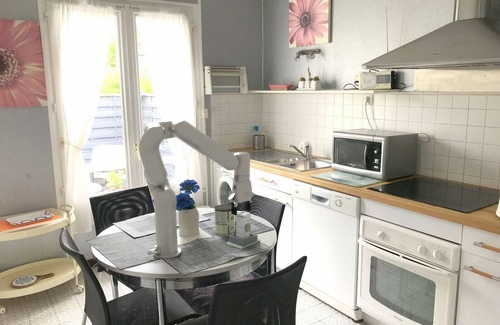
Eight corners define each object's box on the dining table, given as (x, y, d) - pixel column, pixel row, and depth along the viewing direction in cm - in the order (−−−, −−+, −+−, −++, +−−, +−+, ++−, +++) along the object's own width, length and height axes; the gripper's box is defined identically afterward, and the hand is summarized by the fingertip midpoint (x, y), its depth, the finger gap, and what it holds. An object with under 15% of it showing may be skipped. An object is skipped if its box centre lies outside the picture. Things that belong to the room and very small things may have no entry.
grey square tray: (243, 246, 196) (243, 240, 196) (228, 241, 203) (228, 235, 203) (257, 240, 204) (257, 235, 203) (242, 236, 210) (242, 230, 210)
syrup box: (240, 238, 207) (240, 210, 205) (251, 240, 204) (250, 212, 202) (234, 242, 202) (234, 213, 200) (245, 244, 199) (244, 215, 197)
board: (240, 249, 195) (240, 247, 195) (225, 244, 202) (225, 242, 202) (260, 240, 205) (260, 239, 205) (245, 236, 212) (245, 235, 212)
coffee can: (216, 229, 223) (216, 204, 221) (235, 229, 222) (235, 204, 220) (213, 235, 213) (212, 209, 211) (233, 236, 212) (232, 209, 210)
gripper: (234, 181, 189) (234, 217, 192) (259, 176, 202) (258, 210, 204) (223, 179, 194) (222, 214, 197) (248, 174, 207) (247, 207, 209)
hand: (241, 212), depth 201 cm, fingers open, 9 cm apart
